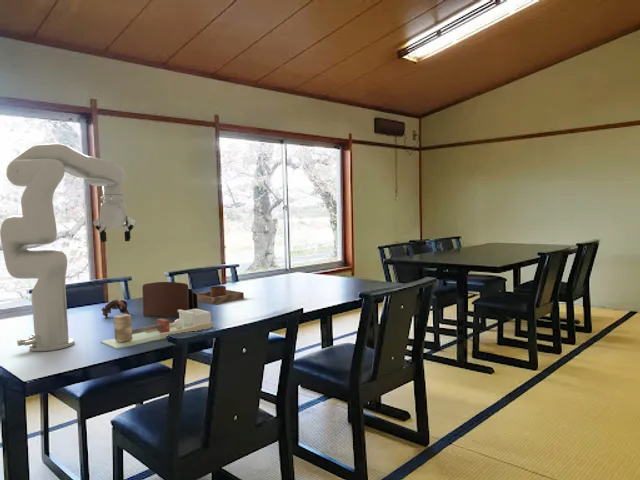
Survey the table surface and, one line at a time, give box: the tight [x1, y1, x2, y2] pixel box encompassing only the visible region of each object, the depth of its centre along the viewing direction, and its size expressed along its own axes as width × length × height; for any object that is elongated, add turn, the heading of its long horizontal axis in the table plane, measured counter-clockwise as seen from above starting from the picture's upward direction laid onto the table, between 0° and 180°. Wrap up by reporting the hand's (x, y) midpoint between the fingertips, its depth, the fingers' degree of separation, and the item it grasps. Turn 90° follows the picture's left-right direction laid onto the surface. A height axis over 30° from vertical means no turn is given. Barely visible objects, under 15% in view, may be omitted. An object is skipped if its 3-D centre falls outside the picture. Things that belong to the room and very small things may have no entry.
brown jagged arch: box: [101, 298, 131, 318], centre depth 199 cm, size 12×10×8 cm
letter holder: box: [141, 281, 199, 317], centre depth 201 cm, size 10×20×14 cm, turn 82°
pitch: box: [100, 308, 214, 350], centre depth 167 cm, size 35×12×6 cm, turn 136°
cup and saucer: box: [208, 285, 230, 297], centre depth 230 cm, size 12×12×6 cm
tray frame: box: [196, 289, 245, 305], centre depth 230 cm, size 17×17×3 cm
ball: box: [173, 318, 184, 329], centre depth 172 cm, size 4×4×4 cm
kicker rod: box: [113, 313, 170, 342], centre depth 162 cm, size 17×5×8 cm, turn 136°
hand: (115, 241), depth 197 cm, fingers open, 9 cm apart
